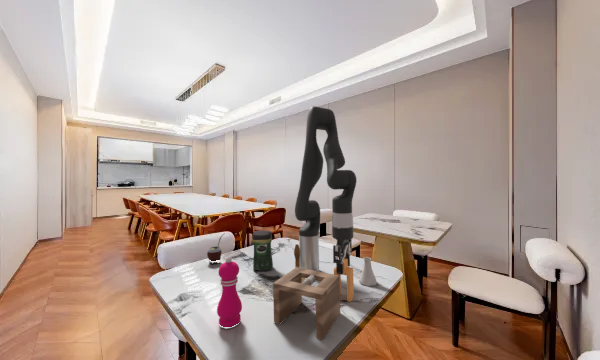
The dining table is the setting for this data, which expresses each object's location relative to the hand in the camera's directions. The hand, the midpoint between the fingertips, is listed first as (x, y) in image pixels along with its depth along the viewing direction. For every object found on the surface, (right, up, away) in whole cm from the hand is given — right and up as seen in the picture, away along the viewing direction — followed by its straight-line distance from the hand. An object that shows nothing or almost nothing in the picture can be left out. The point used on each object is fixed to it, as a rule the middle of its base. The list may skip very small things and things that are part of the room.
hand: (343, 269), depth 83 cm
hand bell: (-17, -11, +13) cm, 24 cm away
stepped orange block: (0, -10, 0) cm, 10 cm away
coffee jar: (-34, -11, +29) cm, 46 cm away
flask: (+12, -10, +12) cm, 20 cm away
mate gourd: (-61, -12, +39) cm, 73 cm away
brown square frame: (-13, -10, -12) cm, 21 cm away
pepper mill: (-37, -11, -14) cm, 41 cm away
